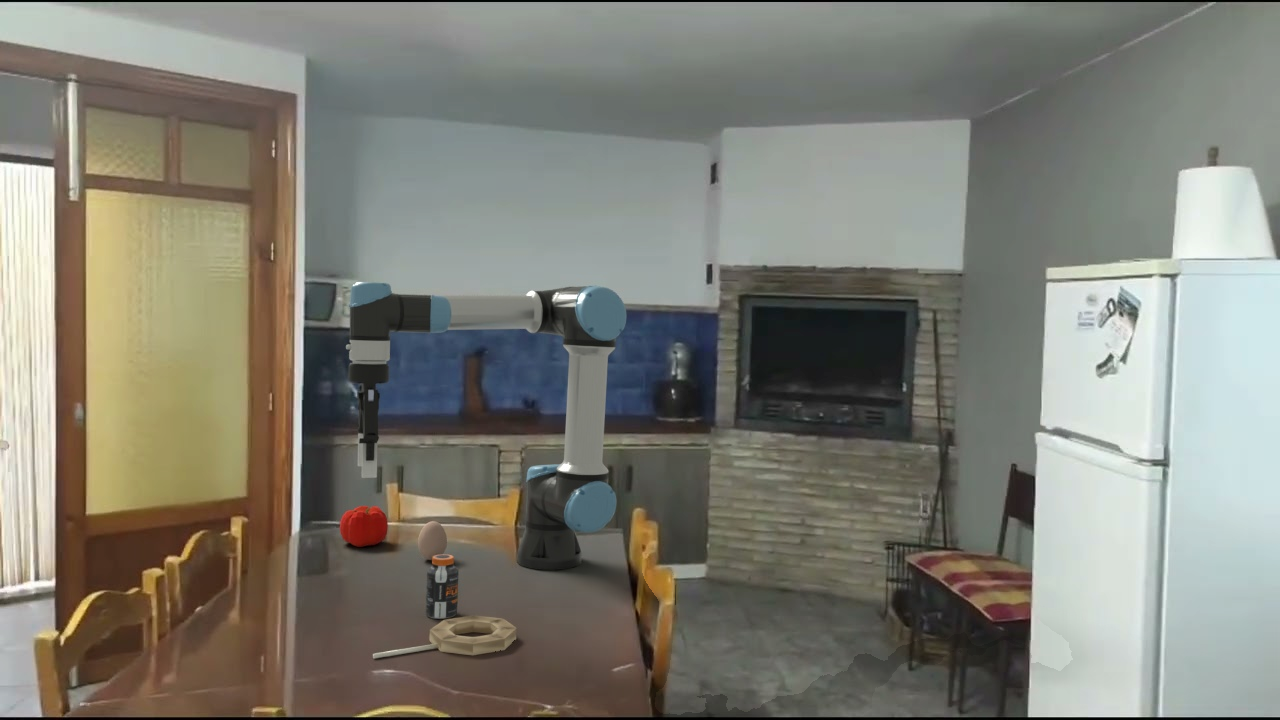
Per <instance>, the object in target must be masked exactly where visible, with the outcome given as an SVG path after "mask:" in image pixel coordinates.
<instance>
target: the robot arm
mask: <svg viewBox="0 0 1280 720" xmlns="http://www.w3.org/2000/svg"><path fill="white" fill-rule="evenodd" d="M348 307H349V343H350V344H346V345H345V349H346V350H347V351H348V350H349V351H348V353H349V354H348V356H349V357H348V359H349V360H350V361H352V362H350V363H349V364H348V382H350V383H351V384H352V383H353V384H360V385H359V391H357V395H356V398H357V410H358V419H357V420H358V423H357V428H358V429H357V432H358V433H357V467H361V479H367V478H368V479H375V478H378V441H379V439H380V437H379V415H378V414H379V410H380V408H379V407H380V405H379V404H380V397H381V396H380V395H381V394H380V392H379V390H378V389H377V387H376V384H387V383H388V382H389V381H390V365H389V363H387V362H388V361H390V360H391V358H390V357H391V355H390V353H391V338H390V337H391V336H390V335H391V333H416V334H418V333H419V334H420V333H421V334H424V333H425V334H427V333H428V334H441V333H445V332H446V331H453V330H454V331H455V330H456V331H457V330H458V331H459V330H460V331H461V330H465V331H466V330H520V329H521V330H523V329H524V330H526V331H527V332H529V333H531V334H547V335H555V336H561V337H563V339H562V341H563V342H562V346H563V348H564V349H565V350H566V352H568V357H569V358H568V374H567V375H568V376H567V393H566V394H567V395H566V413H565V414H566V416H565V431H564V432H565V433H564V434H565V435H564V449H563V450H564V453H563V461H562V463H559V464H554V463H553V464H540V465H539V464H538V465H532V466H530V467H529V468H528V469H527V472H526V479H525V480H526V481H525V484H526V487H525V488H526V490H525V492H526V493H525V528H524V532H523V535H522V538H521V540H520V543H519V546H518V549H517V552H516V555H517V556H516V562H517V564H519V566H523V567H526V568H530V569H534V570H535V569H536V570H551V571H552V570H553V571H554V570H555V571H556V570H566V569H570V568H571V569H572V568H574V567H577V566H579V565H580V564H582V555H583V554H582V550H581V546H580V543H579V539H578V535H577V533H576V532H581V533H585V534H590V533H594V532H595V533H596V532H598V531H600V530H602V529H603V528H605V527H606V525H607V524H608V523H610V522H611V520H612V519H613V517H614V514H615V513H616V508H617V496H616V492H615V491H614V490H613V488H612V486H611V485H609V475H610V474H609V472H610V471H609V469H608V467H606V466H605V464H604V463H603V459H604V458H603V457H604V456H603V455H604V438H605V437H604V436H605V421H606V419H605V418H606V416H605V415H606V403H607V402H606V399H607V397H606V396H607V383H608V382H607V379H608V363H609V362H608V359H609V356H610V355H611V353H613V351H615V350H616V342H617V341H616V340H617V337H619V335H621V332H623V331H624V330H625V326H626V323H627V308H626V306H625V303H624V301H623V300H622V298H621V297H620V296H619V295H618V293H616V292H615V291H614V290H612V289H610V288H608V287H605V286H598V285H588V286H587V285H586V286H565V287H560V288H554V289H546V290H529V291H528V292H526V294H525V295H522V294H521V295H519V294H518V295H511V294H509V295H505V294H503V295H501V294H500V295H499V294H497V295H492V294H489V295H488V294H486V295H485V294H480V295H479V294H472V295H471V294H469V295H467V294H465V295H464V294H463V295H462V294H458V295H456V294H437V295H436V294H403V293H402V294H401V293H394V292H393V293H392V286H391V284H389V283H387V282H374V281H373V282H372V281H357V282H354V283H353V284H352V285H351V289H350V297H349V305H348Z"/></svg>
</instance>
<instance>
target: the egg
mask: <svg viewBox="0 0 1280 720" xmlns="http://www.w3.org/2000/svg"><path fill="white" fill-rule="evenodd" d="M447 546H448V537H447V533H446V531H445V529H444V527H443V526H442V524H441V523H439V522H438V521H436V520H432V521H429V522H427V523H426V524H424V525H423V527H422V528H421V530H420V533H419V535H418V538H417V547H418V551H419V553H420V554H421V556H422V557H423V558H424V559H426V560H428V561H432V558H433V556H435V555H442V554H445V551H446V549H447Z"/></svg>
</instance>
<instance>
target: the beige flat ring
mask: <svg viewBox="0 0 1280 720" xmlns="http://www.w3.org/2000/svg"><path fill="white" fill-rule="evenodd" d="M517 629H518V628H517V627H516V626H514V625H513V624H512V623H510V622H508V621H507V620H506V619H505V618H502V617H501V618H500V617H492V616H491V617H490V616H483V615H475V614H474V615H468V616H462V617H461V616H460V617H454V618H445V619H443V620H441V621H440V622H439V623H437V624H436V625H435V626H433V627H432V628H430V629H429V642H430V643H431V644H438V648H437V649H438V650H439V651H440V652H441V653H450V654H459V655H467V656H478V655H482V654H489V653H494V652H495V651H496V652H500V650H501V651H505V650H507V648H508V647H510V645H512V644H513V643H512V642H513V641H514V640H515V641H516V640H517V632H518V631H517ZM469 633H477V634H478V633H480V634H485V635H480V636H467V635H466V636H465V634H469ZM462 634H464V635H462ZM515 641H514V642H515Z"/></svg>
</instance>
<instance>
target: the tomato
mask: <svg viewBox="0 0 1280 720" xmlns="http://www.w3.org/2000/svg"><path fill="white" fill-rule="evenodd" d="M388 526H389V523H388V518H387V515H386V513H385V512H384V511H383V510H382V509H381V508H380V507H379V506H375V505H374V506H370V507H369V506H367V505H360V506H358V507H355V508H354V509H353V510H352V509H350V510H347V511H345V513H344V514H343V515H342V517H341V519H340V522H339V533H340V535H341V537H342V539H343V540H344V541H345V542H347V543H348V544H351V545H352V546H354V547H357V548H362V547H363V548H364V547H366V546H369V547H372V546H375V545H377V544H380V543H381V542H382V541H384V540H385V538H386V536H387V534H388ZM371 545H372V546H371Z"/></svg>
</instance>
